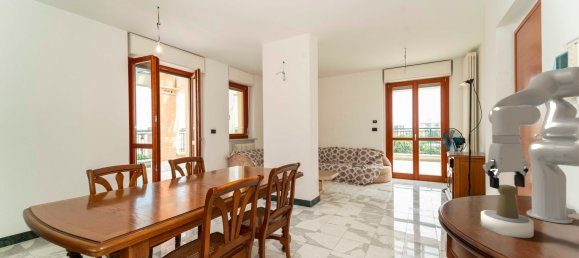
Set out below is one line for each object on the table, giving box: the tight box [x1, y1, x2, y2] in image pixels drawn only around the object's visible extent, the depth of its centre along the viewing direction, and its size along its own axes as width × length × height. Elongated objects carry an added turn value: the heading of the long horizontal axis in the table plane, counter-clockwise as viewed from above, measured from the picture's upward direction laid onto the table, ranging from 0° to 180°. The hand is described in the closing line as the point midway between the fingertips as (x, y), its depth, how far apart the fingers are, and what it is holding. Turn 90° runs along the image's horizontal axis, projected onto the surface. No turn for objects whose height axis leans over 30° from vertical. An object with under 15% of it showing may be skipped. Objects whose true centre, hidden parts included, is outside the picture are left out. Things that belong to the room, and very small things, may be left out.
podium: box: [480, 209, 535, 239], centre depth 86 cm, size 14×14×5 cm
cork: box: [496, 184, 519, 219], centre depth 86 cm, size 6×6×11 cm
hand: (507, 187), depth 86 cm, fingers open, 9 cm apart
